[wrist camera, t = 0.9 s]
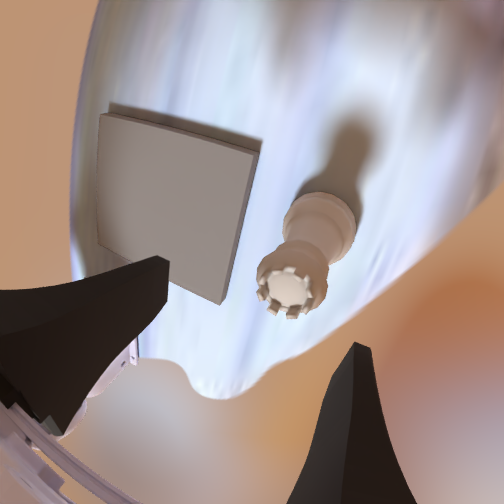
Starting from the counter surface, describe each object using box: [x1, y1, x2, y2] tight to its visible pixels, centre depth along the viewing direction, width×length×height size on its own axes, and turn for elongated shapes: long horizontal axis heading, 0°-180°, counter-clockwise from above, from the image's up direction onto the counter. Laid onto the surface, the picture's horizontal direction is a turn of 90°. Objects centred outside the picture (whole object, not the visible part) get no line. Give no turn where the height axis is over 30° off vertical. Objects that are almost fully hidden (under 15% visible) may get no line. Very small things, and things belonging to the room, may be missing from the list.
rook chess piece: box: [256, 191, 357, 319], centre depth 17 cm, size 4×4×8 cm
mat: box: [97, 113, 259, 305], centre depth 23 cm, size 12×13×1 cm
